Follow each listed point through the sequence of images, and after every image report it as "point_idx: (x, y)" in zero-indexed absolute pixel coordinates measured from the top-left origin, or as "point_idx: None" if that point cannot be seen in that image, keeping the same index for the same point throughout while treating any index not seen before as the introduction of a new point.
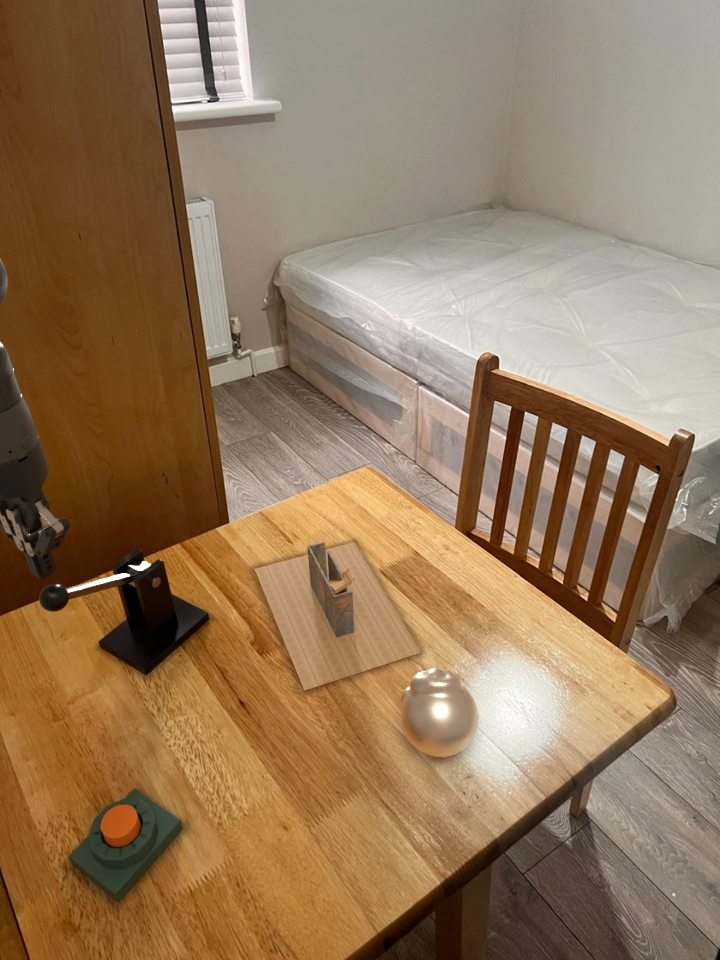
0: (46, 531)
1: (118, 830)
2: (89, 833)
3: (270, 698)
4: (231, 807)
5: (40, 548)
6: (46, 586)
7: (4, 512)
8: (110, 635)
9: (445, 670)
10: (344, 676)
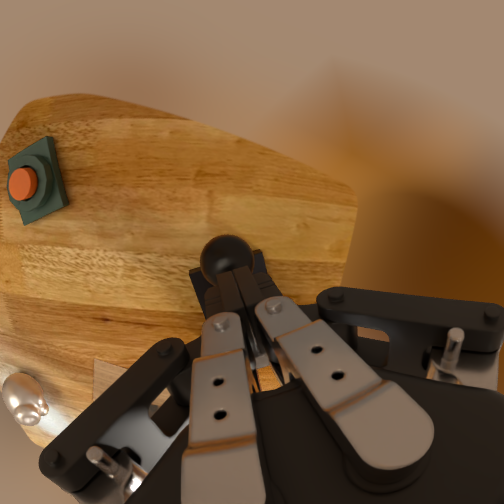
0: (45, 474)
1: (13, 181)
2: (35, 157)
3: (99, 337)
4: (29, 261)
5: (139, 377)
6: (243, 265)
7: (336, 431)
8: (260, 266)
9: (28, 425)
10: (94, 382)
